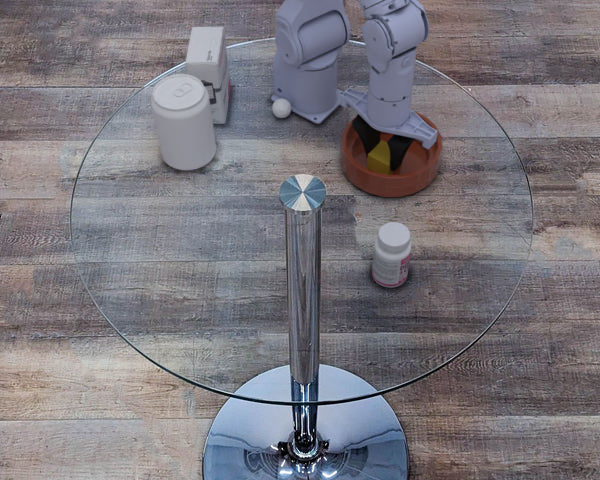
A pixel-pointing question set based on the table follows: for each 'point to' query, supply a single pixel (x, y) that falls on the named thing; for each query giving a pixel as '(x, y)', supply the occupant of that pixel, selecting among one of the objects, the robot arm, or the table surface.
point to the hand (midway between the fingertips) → (384, 160)
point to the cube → (380, 159)
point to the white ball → (281, 108)
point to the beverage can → (183, 122)
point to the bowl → (404, 181)
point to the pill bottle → (391, 255)
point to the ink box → (210, 67)
